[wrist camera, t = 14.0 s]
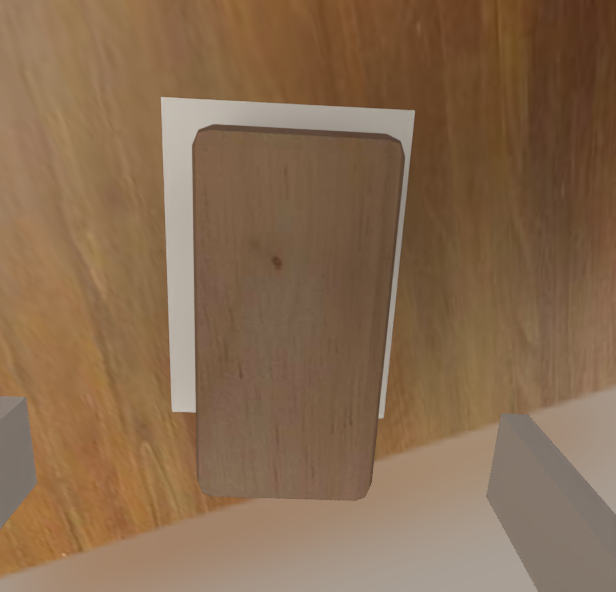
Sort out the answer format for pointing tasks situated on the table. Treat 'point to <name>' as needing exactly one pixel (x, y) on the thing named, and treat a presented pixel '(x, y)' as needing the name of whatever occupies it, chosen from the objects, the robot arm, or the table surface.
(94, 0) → the table surface
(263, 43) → the table surface
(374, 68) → the table surface
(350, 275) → the wooden block
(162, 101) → the white mat
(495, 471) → the robot arm
